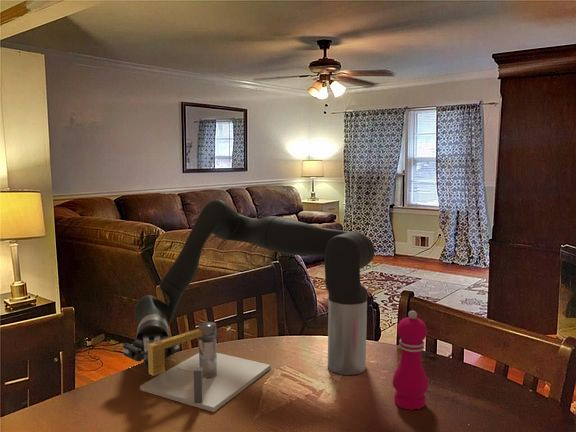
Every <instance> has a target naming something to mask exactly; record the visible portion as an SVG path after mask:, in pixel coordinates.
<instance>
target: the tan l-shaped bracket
mask: <svg viewBox="0 0 576 432" xmlns="http://www.w3.org/2000/svg"><path fill="white" fill-rule="evenodd" d="M197 338H198V340H199V339H200V340H202V341H210V340H214V339H216V340H217V323H215V322H213V321H206V322H205V321H204V322H200V323H199V324H198V328H196V329H193V330H190V331H186V332H183V333H181V334H177V335H175V336H171V337H169V338H167V339H164V340H161V341H156V342H153V343H150V344H148V367H149V368H148V374H149V375H151V376H152V377H156V376H158V375H160V374H162V373H164V372H165V371H166V361H165V360H166V359H165V352H164V349H165V348H168V347H171V346H174V345H177V344H179V345H180V344H183V343H185V342H189V341H192V340H195V339H197Z"/></svg>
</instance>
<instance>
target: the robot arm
mask: <svg viewBox="0 0 576 432" xmlns="http://www.w3.org/2000/svg"><path fill="white" fill-rule="evenodd" d="M211 235H213V236H215V237H217V238H218V239H221V240H226V241H234V242H239V243H241V242H242V243H246V244H247V243H248V244H251V245H252V246H256V247H259V248H261V249H266V250H268V251H272V252H275V253H280V254H283V255H292V256H315V257H318V256H319V257H324V280H325V281H324V283H325V287H326V291H327V293H328V310H327V312H328V313H327V314H328V318H327V319H328V320H327V321H328V322H327V328H328V329H327V369H329V371H331V372H332V373H335V374H338V375H341V376H343V375H345V376H354V375H359V374H361V373H364V372H365V371H366V361H367V360H366V359H367V357H366V355H367V322H368V321H367V319H368V314H367V313H368V312H367V311H368V289H367V287H365V286H364V285H362V284H361V269H363V268H365V267H366V266H367V265H369V264H370V263H371V262H372V260H373V259H374V257H375V252H376V251H375V245H374V244H373V242H372V240H371V239H370V238H369V236H367V235H365V234H364V233H361V232H359V231H354V230H353V231H351V230H350V231H349V230H343V229H342V230H341V229H340V230H339V229H332V228H325V227H321V226H317V225H314V224H310V223H307V222H303V221H298V220H294V219H291V218H286V217H282V216H276V215H269V216H268V215H267V216H265V217H261V218H253V217H249V216H245V215H243V214H241V213H239V212H238V211H236V210H235V209H234V208H232V207H231V206H230V205H229V204H227V202H225V201H223V200H222V199H213V200H210V201H209V202H208V203H207V204H206V205H204V207H203V208H202V210H201V212H200V213H199V215H198V216H197V219H196V220H195V223H194V225H193V227H192V229H191V230H190V232H189V235H188V237H187V238H186V241H185V243H184V244H183V246H182V248H181V250H180V253H179V255H178V256H177V257H176V258H175V261H174V262H173V263H172V265H171V266H170V268H169V269H168V270H167V272H166V273H165V275H164V276H163V278H162V279H161V280H160V282H159V285H158V287H159V289H160V290H161V292H163V294H164V295H166V296H167V298H168V302H167V303H165V302H164V301H162V300H161V299H159V298H158V297H156V296H154V295H151V294H147V295H143V296H142V297H141V298H140V299H139V300H138V301H137V302H136V305H135V308H134V317H135V320H136V321H137V323H138V327H137V330H136V337H135V339H134V340H133V342H132V343H131V344H130V343H129V342H128V343H127V342H126V343H123V345H122V347H123V349H122V350H123V356H124V357H127V358H129V359H130V360H133V361H136V362H141V361H142V360H143V366H144V367H146V368H147V369H149V367H148V344H150V343H153V342H156V341H161V340H164V339H167V338H170V337H169V336H170V332H169V325H170V324H172V321H173V318H174V315H175V312H176V310H177V308H178V307H177V306H178V304H179V303H180V300H181V298H182V296H183V295H184V293H185V292H186V290H187V288H188V287H189V286H190V285H191V283H192V281H193V280H194V278H195V276H196V274H197V273H198V272H197V271H198V268H199V265H200V260H201V256H202V251H203V249H204V246H205V243H206V241H207V240H208V238H209V237H210V236H211ZM164 352H165V360H166V359H168V358H169V357H171V356H173V355H174V354H176V353H178V352H180V344H177V345H174V346H171V347H168V348H165V349H164Z"/></svg>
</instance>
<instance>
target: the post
mask: <svg viewBox="0 0 576 432" xmlns="http://www.w3.org/2000/svg"><path fill="white" fill-rule="evenodd" d="M217 341H218V340H217V338H216V339H214V340H210V341H202V340H200V339H199V338H198V353H199V367H203V378H206V379H211V378H214V377H216V376H217V353H218V351H217V346H218V344H217Z"/></svg>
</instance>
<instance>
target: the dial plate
mask: <svg viewBox="0 0 576 432" xmlns="http://www.w3.org/2000/svg"><path fill="white" fill-rule="evenodd" d="M271 369H272V368H271V364H268V363H263V362H259V361H255V360H251V359H247V358H242V357H238V356H233V355H229V354H225V353H220V352H217V376H216V377H214V378H211V379H206V378H203V367H199V352H198V353H196V354H194V355H192V356H190V357H188V358H186V359H185V360H184V361H181V362H180V363H178V364H176V365H174V366H173V367H171V368H169V369H167V370H165V372H163V373H161V374H158V375H156V376H154V377H153V378H151V379H150V380H147V381H146V382H144V383H142V384H141V385H139V391H142V392H144V393H145V392H146V393H149V394H152V395H156V396H159V397H161V398H165V399H168V400H172V401H175V402H179V403H182V404H185V405H187V406H191V407H196V408H198V409H202V410H205V411H209V412H211V413H215V412H216V411H217V410H218V409H220V408H221V407H223V406H224V405H225V404H226V402H227V403H228V402H229V401H230V400H232V399H233V398H234V397H236V396H238V394H240V393H241V392H242V391H243V390H244V391H245V389H246V388H247V387H249V386H250V385H252V384H253V383H255V382H256V380H258V379H259V378H260V377H262V376H264V374H266V373H267V372H269V371H270V370H271Z"/></svg>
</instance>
